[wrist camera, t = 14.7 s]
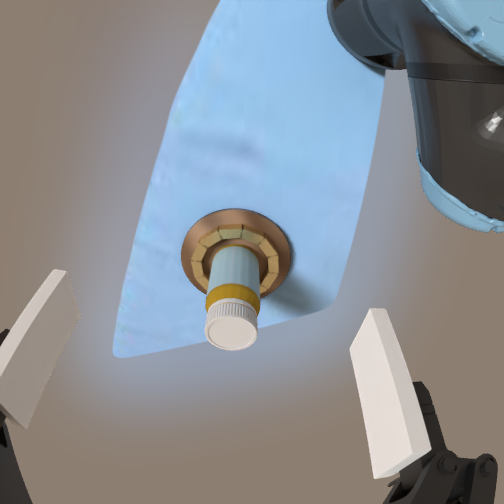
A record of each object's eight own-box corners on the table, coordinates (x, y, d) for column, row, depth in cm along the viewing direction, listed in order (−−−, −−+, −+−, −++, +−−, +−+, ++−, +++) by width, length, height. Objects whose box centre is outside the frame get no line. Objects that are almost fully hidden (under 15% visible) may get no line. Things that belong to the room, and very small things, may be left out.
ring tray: (249, 186, 42) (249, 193, 40) (309, 269, 50) (311, 278, 48) (160, 245, 47) (156, 254, 45) (225, 312, 55) (224, 322, 53)
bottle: (261, 276, 49) (264, 349, 37) (218, 281, 50) (209, 354, 37) (254, 238, 46) (256, 309, 33) (208, 245, 46) (193, 316, 34)
